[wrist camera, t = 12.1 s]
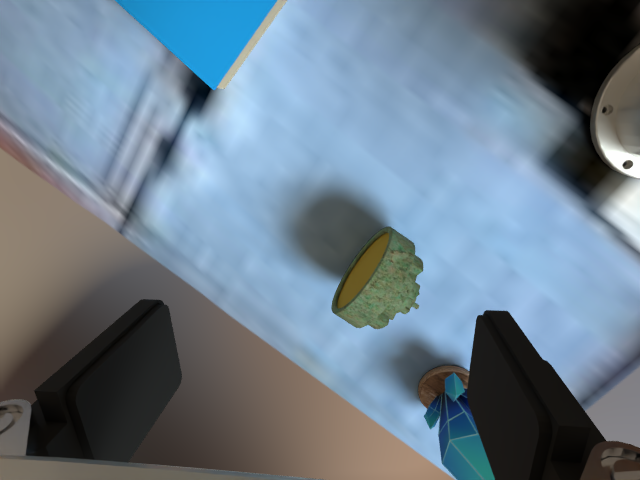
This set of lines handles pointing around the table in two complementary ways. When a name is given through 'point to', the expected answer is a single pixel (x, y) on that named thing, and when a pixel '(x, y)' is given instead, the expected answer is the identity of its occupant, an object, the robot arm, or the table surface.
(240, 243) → the table surface
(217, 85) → the book
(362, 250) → the decorative artifact
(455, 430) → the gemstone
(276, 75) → the table surface
